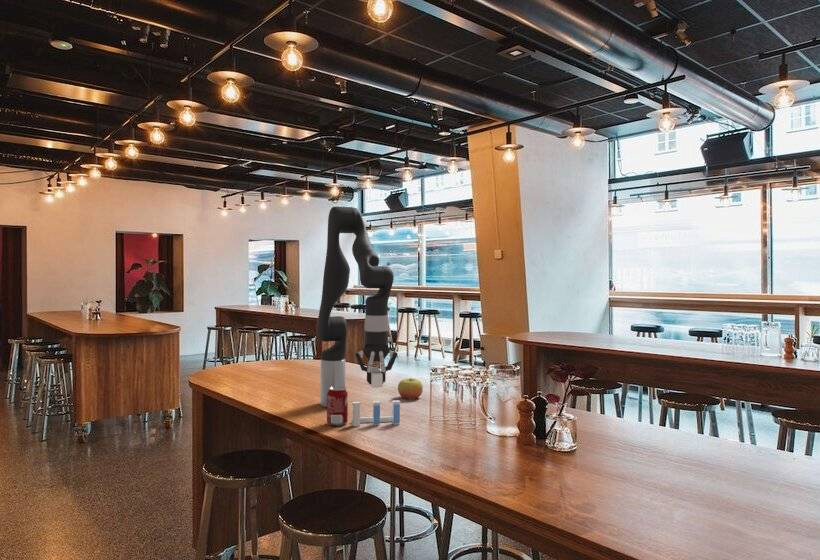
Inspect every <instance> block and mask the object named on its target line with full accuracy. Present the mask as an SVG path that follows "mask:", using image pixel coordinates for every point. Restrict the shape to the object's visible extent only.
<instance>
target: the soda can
mask: <svg viewBox="0 0 820 560" xmlns="http://www.w3.org/2000/svg"><path fill="white" fill-rule="evenodd" d="M346 387H347V386H345V387H343V386H334V387H330V388H329V391H328V393H327V407H326V423H327V424H328V425H329V426H332V427H341V426H344V425H346V424H347V423H348V418H349V417H348V410H349V409H348V405H349V404H348V403H349V402H348V398H349V392H348V391H347V390H346V389H347V388H346Z"/></svg>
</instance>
